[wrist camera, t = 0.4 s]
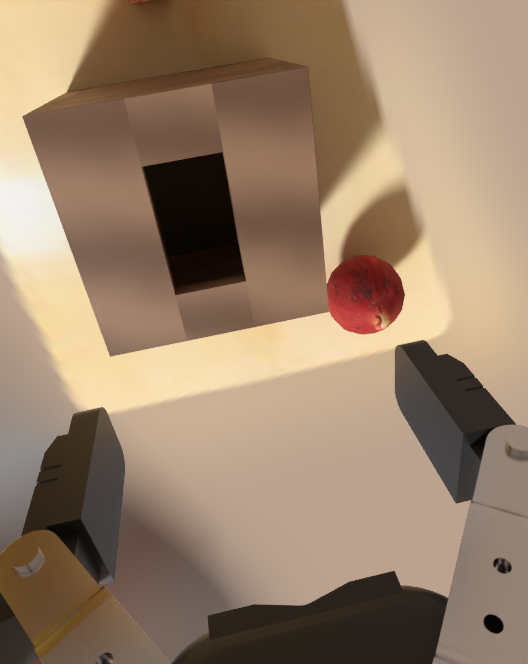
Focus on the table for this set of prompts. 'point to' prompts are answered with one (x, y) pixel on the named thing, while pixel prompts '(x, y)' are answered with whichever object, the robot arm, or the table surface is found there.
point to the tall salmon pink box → (139, 1)
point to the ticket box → (140, 217)
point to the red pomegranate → (365, 294)
